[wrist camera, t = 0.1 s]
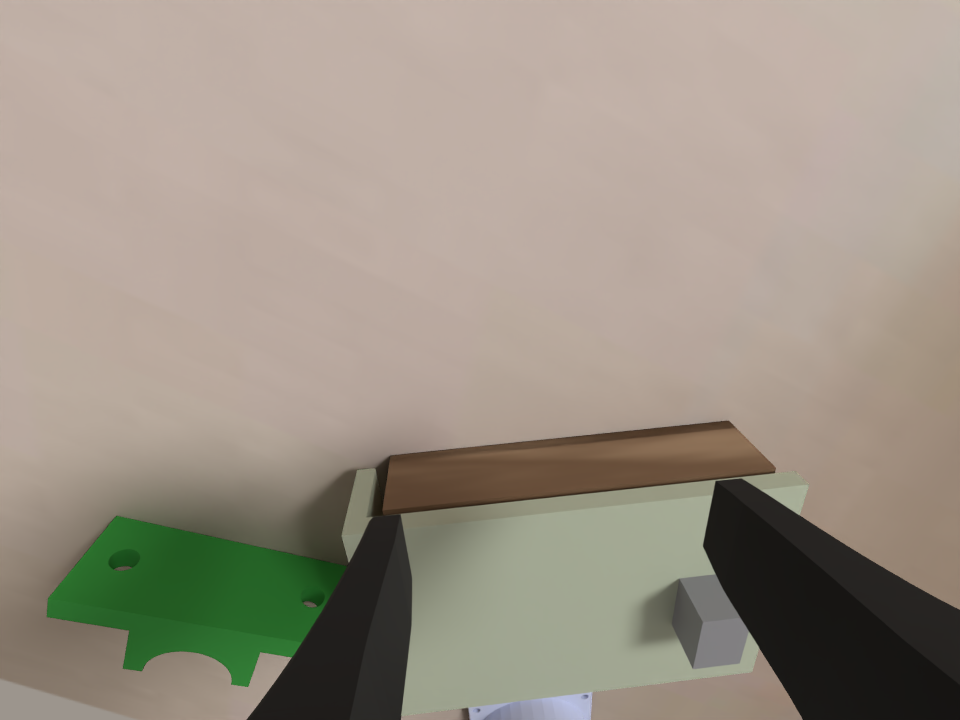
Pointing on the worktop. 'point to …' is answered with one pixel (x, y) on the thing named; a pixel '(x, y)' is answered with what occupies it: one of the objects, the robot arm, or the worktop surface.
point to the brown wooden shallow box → (569, 467)
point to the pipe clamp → (195, 595)
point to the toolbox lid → (565, 593)
